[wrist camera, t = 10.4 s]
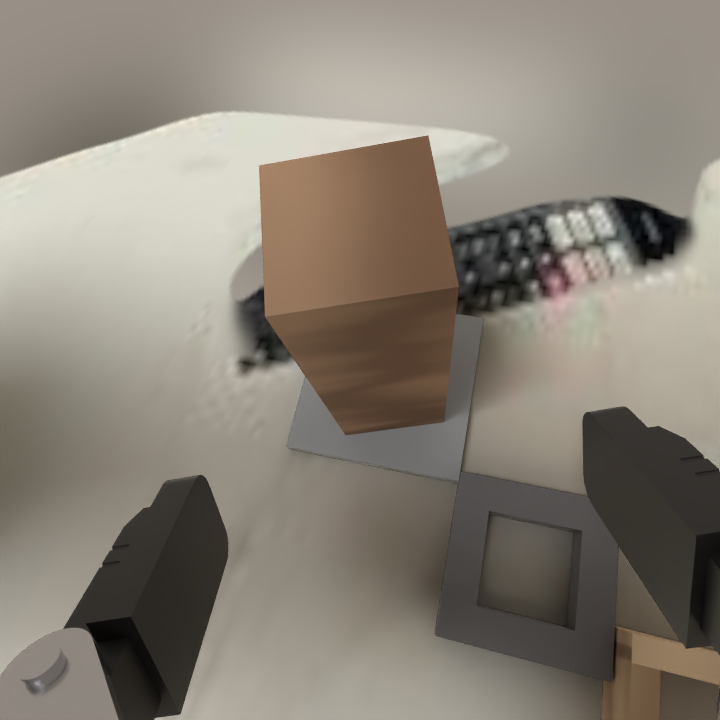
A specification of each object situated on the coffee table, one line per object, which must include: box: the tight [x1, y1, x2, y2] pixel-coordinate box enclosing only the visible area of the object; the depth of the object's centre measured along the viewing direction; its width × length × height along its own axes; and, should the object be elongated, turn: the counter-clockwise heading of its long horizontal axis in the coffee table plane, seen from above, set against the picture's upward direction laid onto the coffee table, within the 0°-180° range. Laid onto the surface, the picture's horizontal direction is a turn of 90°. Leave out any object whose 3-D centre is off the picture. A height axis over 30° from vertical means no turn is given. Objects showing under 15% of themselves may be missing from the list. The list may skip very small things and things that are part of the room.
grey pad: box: [286, 314, 484, 484], centre depth 22 cm, size 7×7×1 cm
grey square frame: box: [435, 471, 619, 682], centre depth 18 cm, size 6×6×1 cm
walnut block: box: [259, 136, 459, 435], centre depth 16 cm, size 4×4×11 cm
